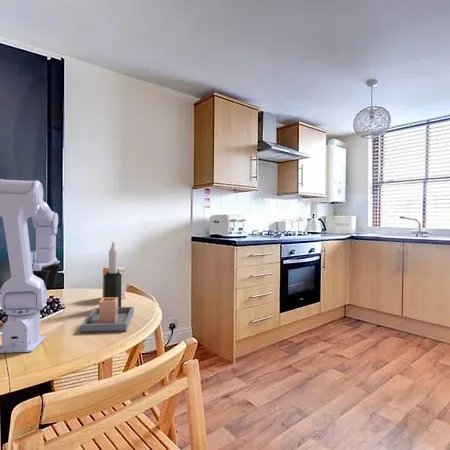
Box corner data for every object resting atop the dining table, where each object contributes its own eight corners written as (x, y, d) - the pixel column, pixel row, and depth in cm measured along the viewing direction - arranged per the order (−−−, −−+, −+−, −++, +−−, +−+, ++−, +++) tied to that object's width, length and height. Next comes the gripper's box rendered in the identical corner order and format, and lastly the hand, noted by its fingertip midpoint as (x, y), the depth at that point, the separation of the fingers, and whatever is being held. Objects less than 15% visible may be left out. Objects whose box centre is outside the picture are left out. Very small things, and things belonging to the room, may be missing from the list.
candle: (115, 310, 118) (115, 242, 118) (102, 309, 119) (103, 242, 119) (122, 306, 123) (123, 241, 123) (110, 305, 124) (110, 241, 124)
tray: (126, 331, 98) (126, 323, 98) (80, 333, 96) (80, 325, 96) (133, 313, 116) (133, 306, 116) (95, 314, 114) (95, 307, 114)
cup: (115, 322, 104) (115, 301, 104) (98, 323, 103) (98, 301, 103) (117, 317, 109) (118, 297, 108) (102, 318, 108) (102, 297, 108)
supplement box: (101, 299, 134) (102, 267, 133) (109, 296, 138) (109, 265, 138) (119, 301, 131) (119, 269, 131) (125, 298, 136) (126, 267, 136)
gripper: (50, 250, 99) (50, 294, 100) (66, 245, 114) (66, 283, 114) (25, 250, 98) (25, 294, 99) (44, 245, 113) (44, 284, 113)
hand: (45, 288), depth 106 cm, fingers open, 7 cm apart
